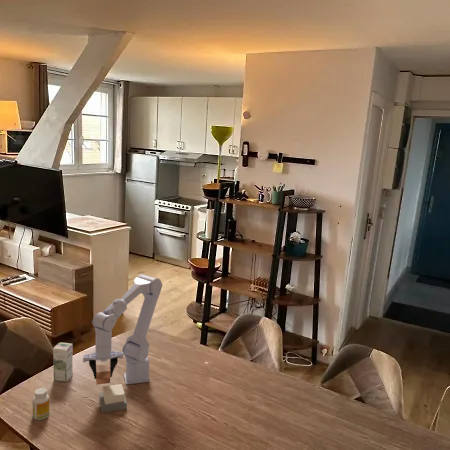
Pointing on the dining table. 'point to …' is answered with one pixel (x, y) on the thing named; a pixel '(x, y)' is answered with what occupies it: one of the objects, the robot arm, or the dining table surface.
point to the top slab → (113, 394)
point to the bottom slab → (112, 405)
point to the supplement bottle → (40, 404)
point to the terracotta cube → (102, 374)
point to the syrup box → (63, 361)
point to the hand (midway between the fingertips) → (103, 376)
